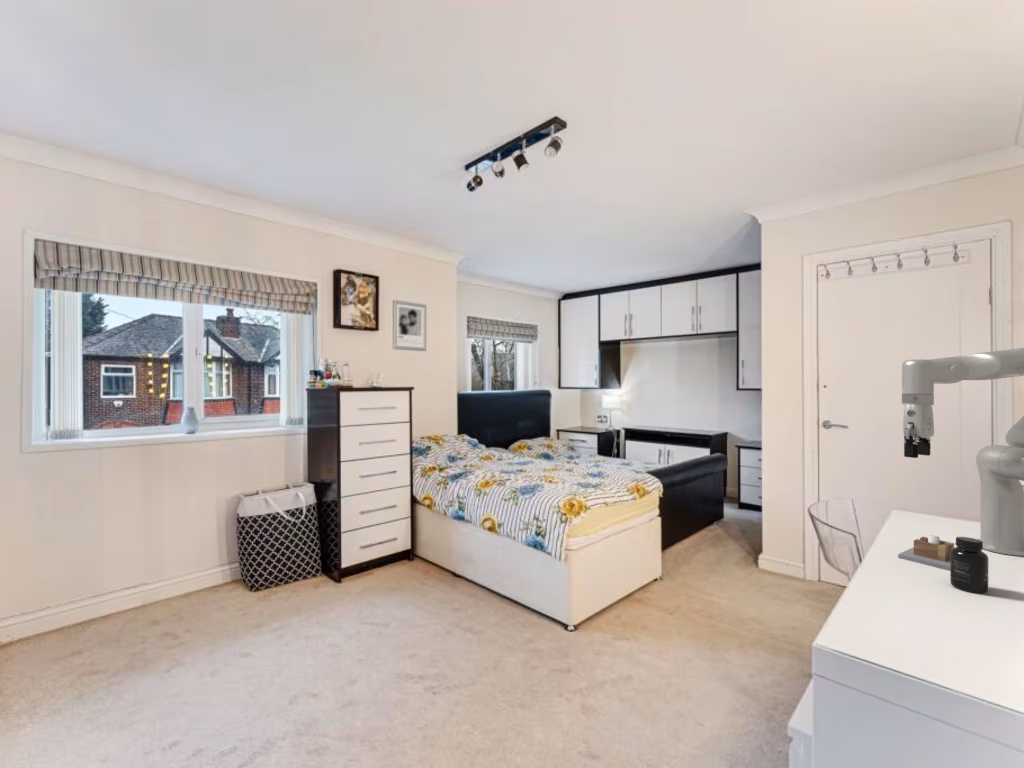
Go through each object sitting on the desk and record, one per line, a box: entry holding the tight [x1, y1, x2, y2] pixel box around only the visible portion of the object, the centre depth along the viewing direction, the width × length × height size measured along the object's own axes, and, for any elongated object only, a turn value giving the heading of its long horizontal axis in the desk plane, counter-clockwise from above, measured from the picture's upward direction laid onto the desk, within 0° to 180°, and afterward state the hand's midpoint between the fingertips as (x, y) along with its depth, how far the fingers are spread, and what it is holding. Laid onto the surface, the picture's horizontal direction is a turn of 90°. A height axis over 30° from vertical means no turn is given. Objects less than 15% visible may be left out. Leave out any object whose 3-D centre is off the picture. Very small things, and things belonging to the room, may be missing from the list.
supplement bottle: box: [949, 536, 989, 594], centre depth 119 cm, size 7×7×12 cm
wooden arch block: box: [913, 536, 955, 562], centre depth 139 cm, size 7×7×4 cm
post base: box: [897, 535, 950, 571], centre depth 138 cm, size 14×12×6 cm
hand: (917, 456), depth 147 cm, fingers open, 9 cm apart
